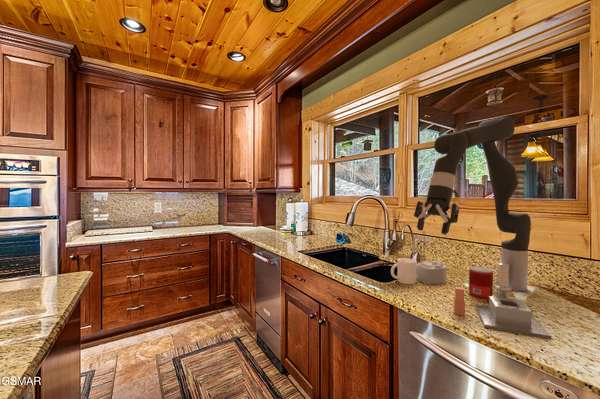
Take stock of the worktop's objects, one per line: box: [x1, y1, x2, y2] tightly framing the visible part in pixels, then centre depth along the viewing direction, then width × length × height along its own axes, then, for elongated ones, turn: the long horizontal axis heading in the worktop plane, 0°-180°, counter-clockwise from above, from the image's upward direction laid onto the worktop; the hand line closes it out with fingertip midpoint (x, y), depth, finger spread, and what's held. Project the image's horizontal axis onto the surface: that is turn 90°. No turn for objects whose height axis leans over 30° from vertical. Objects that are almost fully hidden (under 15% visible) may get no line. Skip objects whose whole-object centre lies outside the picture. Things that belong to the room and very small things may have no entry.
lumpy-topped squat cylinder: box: [416, 260, 447, 285], centre depth 127 cm, size 10×13×9 cm
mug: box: [390, 257, 417, 286], centre depth 124 cm, size 12×8×10 cm
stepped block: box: [453, 286, 466, 317], centre depth 92 cm, size 3×3×9 cm
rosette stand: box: [474, 262, 552, 340], centre depth 88 cm, size 18×16×17 cm
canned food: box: [468, 265, 494, 300], centre depth 108 cm, size 8×8×11 cm
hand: (431, 232), depth 91 cm, fingers open, 8 cm apart
